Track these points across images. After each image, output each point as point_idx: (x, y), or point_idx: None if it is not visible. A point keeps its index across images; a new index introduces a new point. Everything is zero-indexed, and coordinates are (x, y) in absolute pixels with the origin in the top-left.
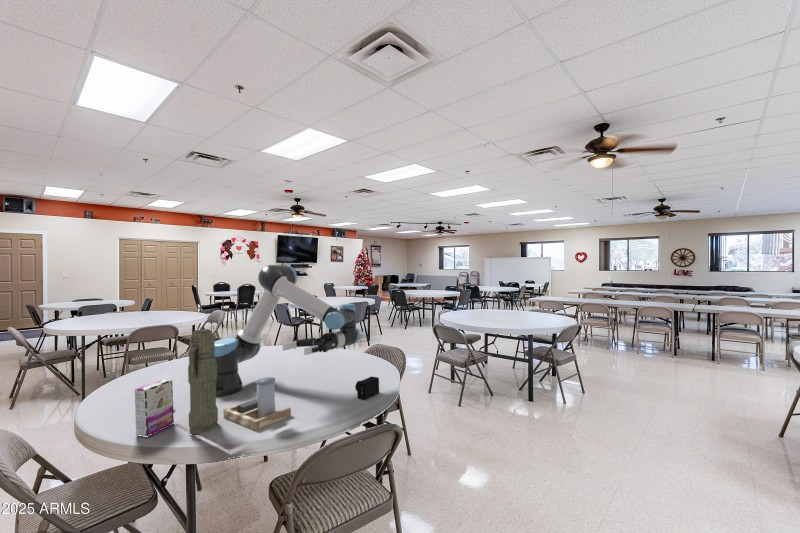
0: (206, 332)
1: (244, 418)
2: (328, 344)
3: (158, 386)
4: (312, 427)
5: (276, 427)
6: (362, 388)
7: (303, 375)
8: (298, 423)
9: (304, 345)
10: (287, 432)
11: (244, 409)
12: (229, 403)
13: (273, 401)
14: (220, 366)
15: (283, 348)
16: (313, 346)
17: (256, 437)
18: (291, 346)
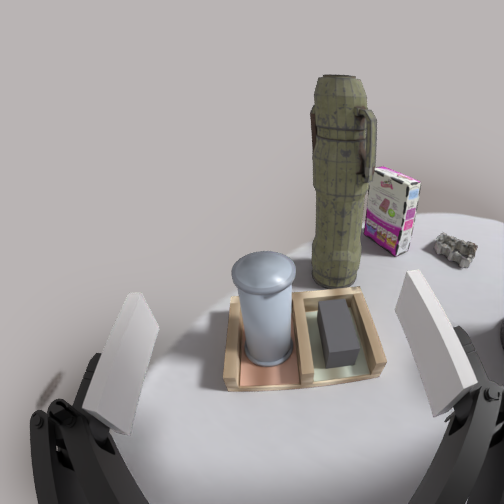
0: (319, 78)
1: None
2: (34, 479)
3: (386, 177)
4: (144, 383)
5: (221, 348)
6: None
7: None
8: (189, 383)
9: (422, 488)
10: (179, 346)
11: (318, 307)
12: None
13: (244, 326)
14: None
15: (399, 297)
16: (100, 359)
17: (220, 308)
18: (425, 357)
